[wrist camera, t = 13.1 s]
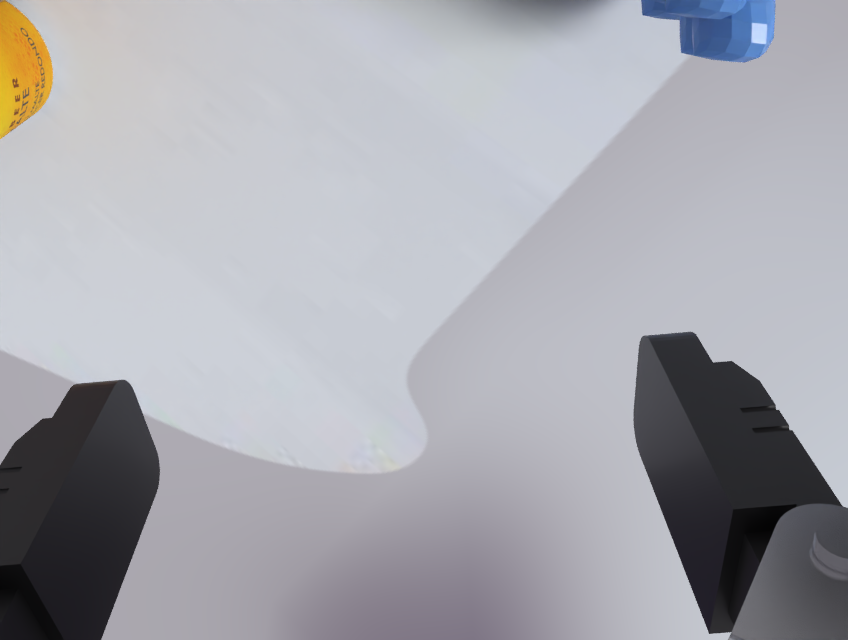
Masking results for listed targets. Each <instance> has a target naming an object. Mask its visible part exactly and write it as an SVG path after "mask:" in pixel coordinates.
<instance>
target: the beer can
mask: <svg viewBox="0 0 848 640" xmlns="http://www.w3.org/2000/svg"><path fill="white" fill-rule="evenodd" d="M52 83H53V67H52V61H51V57H50V54H49V51H48V49H47V46H46V44H45V42H44V40H43V38H42V36H41V35H40V33H39V32H38V30H37V29H36V28H35V26H34V25H33V24H32V22H31V21H30V20H29V19H28V18H27V17H26V16H25V15H24V14H23V13H22V12H21V11H19V10H18V9H17V8H16V7H14V6H13V5H12V4H10V3H8V2H7V1H2V2H0V139H1V138H2V137H4V136H5V135H7V134H8V133H9V132H11V131H12V130H13V129H15V128H16V127H17V126H19V125H20V124H21V123H23V122H24V121H26V120H27V119H28V118H30V117H31V116H32V115H34V114H35V113H36V112H38V111H39V110H40V109H41V108H42V106H43V105H44V104H45V102H46V101H47V99H48V97H49V94H50V92H51V88H52Z"/></svg>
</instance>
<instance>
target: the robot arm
mask: <svg viewBox="0 0 848 640" xmlns="http://www.w3.org/2000/svg"><path fill="white" fill-rule="evenodd" d="M638 354H639V355H638V365H637V378H636V390H635V403H634V430H635V437H636V443H637V447H638V450H639V453H640V456H641V459H642V461H643V464H644V466H645V469H646V471H647V474H648V477H649V479H650V482H651V484H652V487H653V490H654V492H655V495H656V497H657V500H658V503H659V505H660V508H661V510H662V513H663V515H664V518H665V521H666V523H667V526H668V528H669V531H670V534H671V536H672V539H673V541H674V544H675V546H676V549H677V551H678V554H679V557H680V559H681V562H682V565H683V567H684V570H685V572H686V575H687V577H688V580H689V583H690V585H691V588H692V590H693V593H694V596H695V598H696V601H697V603H698V606H699V608H700V611H701V614H702V616H703V618H704V621H705V624H706V627H707V629H708V632H709V634H712V633H725V632H732V633H731V635H730V637H729V639H728V640H848V508H846V507H843V506H842V505H841V504H840V502H839V500H838V499H837V497H836V496H835V494H834V493H833V491H832V490H831V488H830V487H829V485H828V484H827V482H826V481H825V479H824V478H823V476H822V475H821V473H820V472H819V470H818V469H817V467H816V466H815V464H814V463H813V461H812V460H811V458H810V456H809V455H808V453H807V452H806V451H805V449H804V447H803V446H802V444H801V443H800V441H799V440H798V438H797V437H796V435H795V434H794V432H793V431H792V430H789V425H788V423H787V422H786V420H785V419H784V417H783V416H782V414H781V413H780V411H779V410H776V407H775V404H774V402H773V400H772V399H771V397H770V396H769V395H768V393H767V391H766V390H765V388H764V387H763V386H762V384H761V382H760V381H759V380H758V379H756V378H755V377H753V376H752V375H750V374H749V373H748V372H746V371H745V370H744V369H742V368H741V367H739V366H738V365H737V364H735V363H734V362H732V361H727V362H716V363H713V362H712V360H711V359H710V357H709V355H708V354H707V352H706V351H705V349H704V347H703V346H702V344H701V342H700V340H699V339H698V337H697V336H696V334H694V333H693V332H683V333H672V334H660V335H649V336H643V337H642V338H641V341H640V345H639V353H638ZM159 475H160V467H159V458H158V454H157V451H156V448H155V445H154V442H153V440H152V437H151V435H150V432H149V429H148V427H147V424H146V422H145V419H144V416H143V414H142V411H141V408H140V406H139V403H138V400H137V398H136V395H135V392H134V390H133V388H132V386H131V385H130V384H129V383H128V382H127V381H126V380H116V381H104V382H93V383H81V384H75V385H73V386H72V387H71V388H70V390H69V391H68V393H67V394H66V396H65V398H64V399H63V401H62V403H61V405H60V406H59V408H58V409H57V411H56V412H55V414H54V416H53V417H52V418H46V419H42V420H40V421H39V422H38V423H37V424H36V425H35V426H34V427H32V428H31V429H30V430H29V431H28V432H27V433H25V434H24V435H23V436H22V437H21V438H20V439H18V440H17V441H16V442H15V443H14V445H13V446H12V448H11V449H10V451H9V452H8V454H7V455H6V457H5V459H4V460H3V462H2V463H1V465H0V640H101V638H102V636H103V633H104V630H105V628H106V625H107V622H108V620H109V617H110V615H111V612H112V609H113V607H114V604H115V601H116V599H117V596H118V593H119V590H120V588H121V585H122V583H123V580H124V577H125V575H126V572H127V570H128V567H129V564H130V562H131V559H132V556H133V554H134V551H135V548H136V546H137V543H138V540H139V538H140V535H141V532H142V530H143V527H144V524H145V522H146V519H147V516H148V514H149V511H150V509H151V506H152V503H153V501H154V498H155V495H156V492H157V489H158V485H159Z"/></svg>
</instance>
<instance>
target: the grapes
mask: <svg viewBox="0 0 848 640" xmlns="http://www.w3.org/2000/svg"><path fill="white" fill-rule="evenodd" d="M641 2H642V15H645V16H650V17H654V18H660V19H673V20H680V43H681V53H685V54H689V55H694V56H698V57H703V58H707V59H711V60H721V61H732V62H747V61H750V60H753V59H756V58H758V57H760V56H761V55H762V54H764V53H765V52H766V51H767V49H768V47H769V45H770V44H771V42H772V40H773V38H774V22H775V0H641Z"/></svg>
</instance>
